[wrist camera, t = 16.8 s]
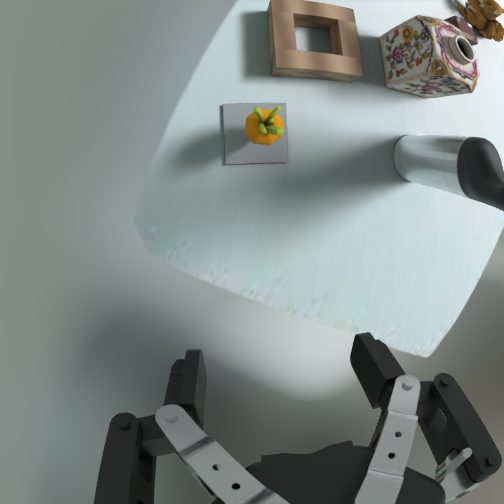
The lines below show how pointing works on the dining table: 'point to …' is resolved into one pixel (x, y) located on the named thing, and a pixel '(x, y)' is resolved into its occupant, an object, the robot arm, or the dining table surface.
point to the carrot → (264, 126)
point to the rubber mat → (240, 145)
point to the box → (463, 28)
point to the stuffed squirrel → (484, 18)
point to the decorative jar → (429, 58)
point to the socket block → (306, 62)
